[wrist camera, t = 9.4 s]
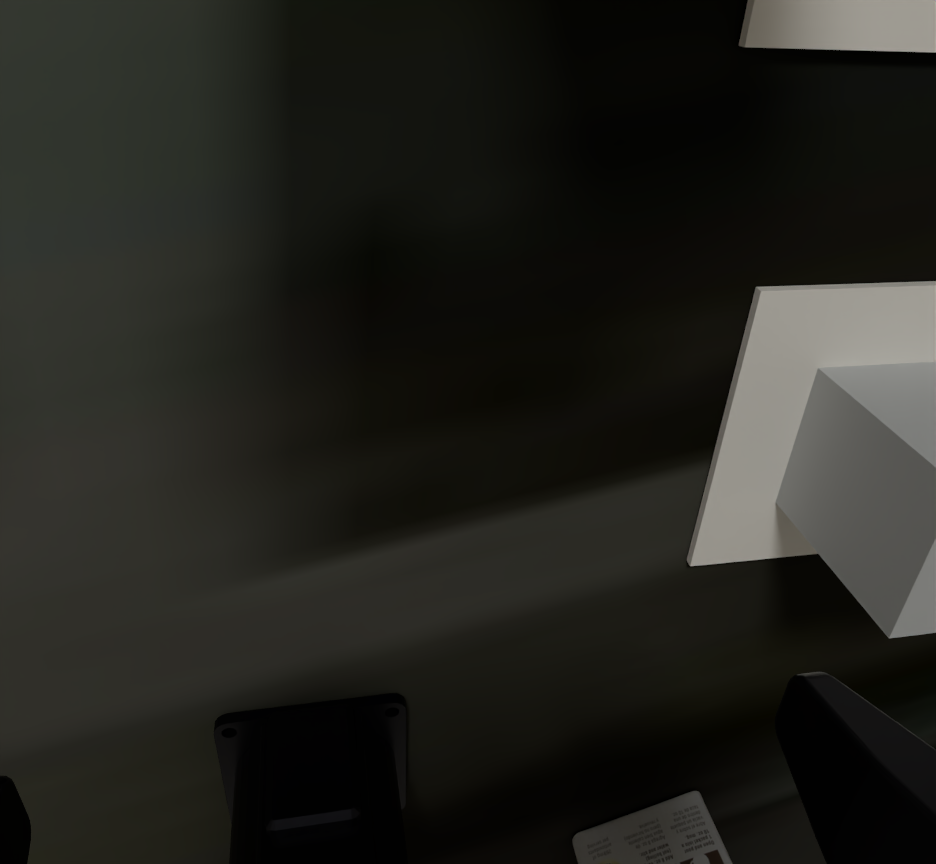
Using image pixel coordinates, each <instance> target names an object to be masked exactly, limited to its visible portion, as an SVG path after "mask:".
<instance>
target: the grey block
mask: <svg viewBox="0 0 936 864" xmlns="http://www.w3.org/2000/svg"><path fill="white" fill-rule="evenodd" d="M776 504H777V505H778V506H779V507H780V508H781V510H782V511H783V512H784V513H785V514H786V516H787V517H788V518H789V519H790V520H791V522H792V523H793V524H794V525H795V526H796V528H797V529H798V530H799V531H800V532H801V534H802V535H803V536H804V537H805V538H806V540H807V541H808V542H809V543H810V544H811V546H812V547H813V548H814V549H815V550H816V552H817V553H818V554H819V555H820V556H821V558H822V559H823V560H824V561H825V562H826V564H827V565H828V566H829V567H830V568H831V569H832V571H833V572H834V573H835V574H836V575H837V577H838V578H839V579H840V580H841V581H842V583H843V584H844V585H845V586H846V587H847V589H848V590H849V591H850V592H851V593H852V595H853V596H854V597H855V598H856V599H857V601H858V602H859V603H860V604H861V605H862V607H863V608H864V609H865V610H866V611H867V613H868V614H869V615H870V616H871V617H872V619H873V620H874V621H875V622H876V623H877V625H878V626H879V627H880V628H881V629H882V631H883V632H884V633H885V634H886V635H887V637H888V638H896V637H904V636H912V635H920V634H928V633H936V362H919V363H900V364H881V365H863V366H844V367H825V368H818V369H817V372H816V376H815V379H814V382H813V385H812V388H811V391H810V395H809V398H808V401H807V404H806V407H805V410H804V414H803V417H802V420H801V423H800V426H799V429H798V433H797V436H796V439H795V442H794V445H793V448H792V451H791V455H790V458H789V461H788V464H787V467H786V470H785V474H784V477H783V480H782V483H781V486H780V489H779V493H778V496H777V499H776Z"/></svg>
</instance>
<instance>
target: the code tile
mask: <svg viewBox="0 0 936 864" xmlns="http://www.w3.org/2000/svg"><path fill="white" fill-rule="evenodd" d="M739 46H742V47H752V48H789V49H825V50H862V51H899V52H936V0H748V2H747V7H746V12H745V16H744V21H743V26H742V31H741V36H740V41H739Z"/></svg>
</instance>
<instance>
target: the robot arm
mask: <svg viewBox="0 0 936 864" xmlns="http://www.w3.org/2000/svg"><path fill="white" fill-rule="evenodd" d="M775 729H776V733H777V737H778V740H779V742H780V745H781V747H782V750H783V753H784V755H785V758H786V761H787V763H788V766H789V768H790V771H791V774H792V776H793V779H794V782H795V784H796V787H797V789H798V792H799V795H800V797H801V800H802V803H803V805H804V808H805V810H806V813H807V816H808V818H809V821H810V823H811V826H812V829H813V831H814V834H815V837H816V839H817V841H818V844H819V846H820V849H821V851H822V853H823V856H824V858H825V860H826V862H827V864H936V750H935V749H934V748H932V747H931V746H930V745H928V744H927V743H925V742H924V741H923V740H921V739H920V738H918V737H917V736H916V735H914V734H913V733H911V732H910V731H909V730H907V729H906V728H904V727H903V726H901V725H900V724H899V723H897V722H896V721H894V720H893V719H892V718H890V717H889V716H887V715H886V714H885V713H883V712H882V711H880V710H879V709H878V708H876V707H875V706H873V705H872V704H871V703H869V702H868V701H866V700H865V699H864V698H862V697H861V696H859V695H858V694H857V693H855V692H854V691H852V690H851V689H850V688H848V687H847V686H845V685H844V684H843V683H841V682H840V681H838V680H837V679H836V678H834V677H833V676H831V675H829V674H827V673H824V672H813V673H805V674H797V675H795V676H793V677H792V678H791V679H790V681H789V682H788V685H787V687H786V690H785V692H784V695H783V698H782V700H781V703H780V705H779V708H778V710H777V713H776V716H775ZM214 738H215V743H216V748H217V753H218V758H219V763H220V768H221V773H222V778H223V783H224V788H225V793H226V798H227V803H228V808H229V813H230V819H231V824H232V829H231V845H230V860H229V864H408V859H407V851H406V843H405V835H404V827H403V819H402V811H401V810H402V809H403V808H404V807H405V805H406V706H405V700H404V698H403V697H402V696H401V695H398V694H384V695H376V696H368V697H359V698H351V699H343V700H335V701H327V702H318V703H310V704H302V705H294V706H286V707H278V708H269V709H261V710H253V711H245V712H237V713H228V714H224V715H222V716H220V717H218V718H217V720H216V721H215V728H214ZM30 841H31V825H30V820H29V817H28V814H27V812H26V810H25V807H24V805H23V803H22V800H21V798H20V796H19V793H18V791H17V789H16V787H15V784H14V782H13V781H12V779H11V778H9V777H7V776H0V864H27V861H28V855H29V848H30Z"/></svg>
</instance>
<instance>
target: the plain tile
mask: <svg viewBox="0 0 936 864" xmlns="http://www.w3.org/2000/svg"><path fill="white" fill-rule="evenodd" d="M919 362H936V281H926V282H895V283H864V284H833V285H802V286H771V287H756V288H755V292H754V296H753V300H752V304H751V308H750V312H749V316H748V320H747V324H746V328H745V332H744V336H743V340H742V344H741V347H740V351H739V355H738V359H737V363H736V367H735V371H734V375H733V379H732V383H731V387H730V391H729V395H728V399H727V403H726V407H725V411H724V415H723V419H722V422H721V426H720V430H719V434H718V438H717V442H716V446H715V450H714V454H713V458H712V462H711V466H710V470H709V474H708V478H707V482H706V486H705V490H704V494H703V497H702V501H701V505H700V509H699V513H698V517H697V521H696V525H695V529H694V533H693V537H692V541H691V545H690V549H689V553H688V557H687V562H688V564H689V565H690V566H700V565H710V564H720V563H730V562H740V561H750V560H760V559H770V558H780V557H790V556H800V555H810V554H818V553H817V552H816V550H815V549H814V548H813V547H812V546H811V544H810V543H809V542H808V541H807V540H806V538H805V537H804V536H803V535H802V534H801V532H800V531H799V530H798V529H797V528H796V526H795V525H794V524H793V523H792V522H791V520H790V519H789V518H788V517H787V516H786V514H785V513H784V512H783V511H782V510H781V508H780V507H779V506H778V505H777V504H776V499H777V496H778V493H779V489H780V486H781V483H782V480H783V477H784V474H785V470H786V467H787V464H788V461H789V458H790V455H791V451H792V448H793V445H794V442H795V439H796V436H797V433H798V429H799V426H800V423H801V420H802V417H803V414H804V410H805V407H806V404H807V401H808V398H809V395H810V391H811V388H812V385H813V382H814V379H815V376H816V372H817V369H818V368H825V367H844V366H863V365H881V364H900V363H919Z"/></svg>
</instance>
